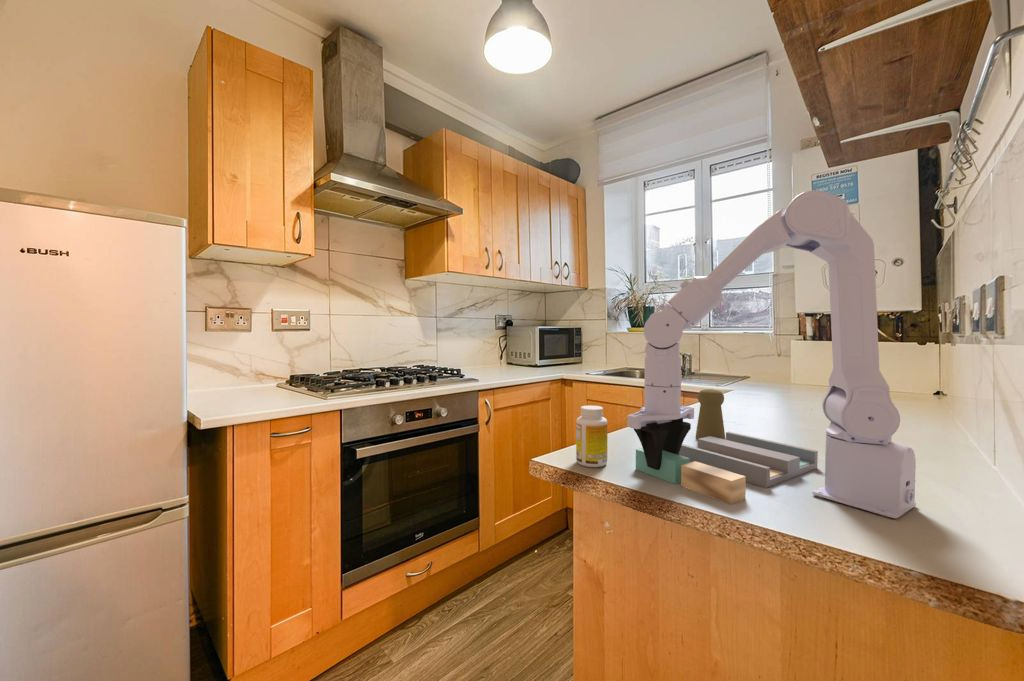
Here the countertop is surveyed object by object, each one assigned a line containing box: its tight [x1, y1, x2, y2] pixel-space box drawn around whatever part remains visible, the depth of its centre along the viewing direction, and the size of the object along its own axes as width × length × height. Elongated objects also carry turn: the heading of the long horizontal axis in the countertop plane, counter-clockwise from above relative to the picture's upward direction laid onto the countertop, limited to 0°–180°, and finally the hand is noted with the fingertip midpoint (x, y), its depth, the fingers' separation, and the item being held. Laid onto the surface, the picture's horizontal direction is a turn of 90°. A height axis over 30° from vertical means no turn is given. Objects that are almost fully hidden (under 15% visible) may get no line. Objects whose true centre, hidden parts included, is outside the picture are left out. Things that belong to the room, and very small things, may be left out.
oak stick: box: [680, 461, 747, 506], centre depth 62 cm, size 8×4×4 cm, turn 32°
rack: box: [679, 431, 819, 489], centre depth 75 cm, size 16×17×3 cm
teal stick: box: [635, 447, 690, 485], centre depth 70 cm, size 8×4×4 cm, turn 32°
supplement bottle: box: [575, 404, 608, 468], centre depth 76 cm, size 6×6×10 cm
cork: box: [694, 388, 726, 441], centre depth 92 cm, size 6×6×11 cm
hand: (661, 465), depth 70 cm, fingers closed on teal stick, 3 cm apart
